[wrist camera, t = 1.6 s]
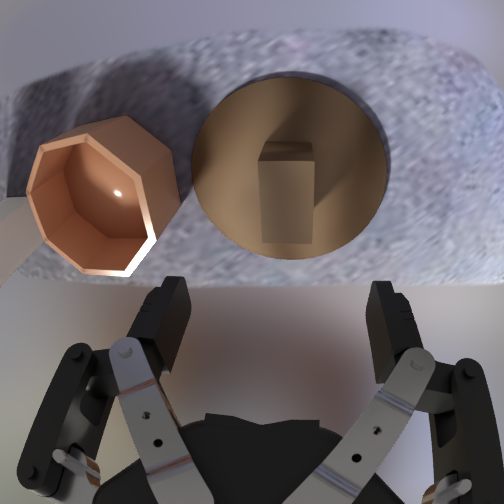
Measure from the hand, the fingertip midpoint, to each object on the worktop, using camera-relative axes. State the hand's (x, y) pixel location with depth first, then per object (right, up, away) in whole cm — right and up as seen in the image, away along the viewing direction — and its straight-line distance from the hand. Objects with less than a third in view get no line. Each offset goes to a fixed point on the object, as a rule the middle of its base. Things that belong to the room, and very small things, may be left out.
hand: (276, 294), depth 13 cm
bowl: (-14, +8, +14) cm, 21 cm away
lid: (+2, +8, +12) cm, 15 cm away
